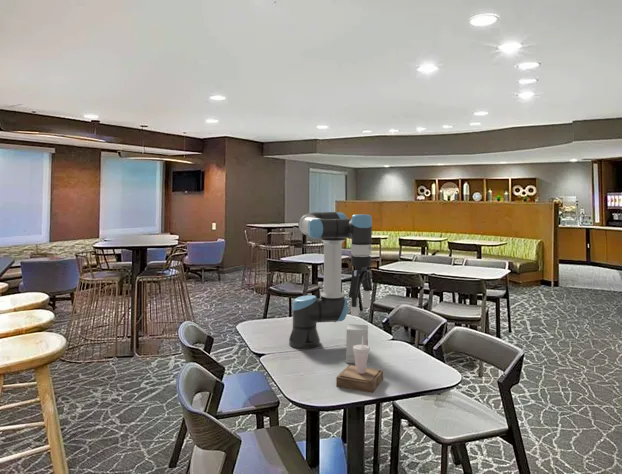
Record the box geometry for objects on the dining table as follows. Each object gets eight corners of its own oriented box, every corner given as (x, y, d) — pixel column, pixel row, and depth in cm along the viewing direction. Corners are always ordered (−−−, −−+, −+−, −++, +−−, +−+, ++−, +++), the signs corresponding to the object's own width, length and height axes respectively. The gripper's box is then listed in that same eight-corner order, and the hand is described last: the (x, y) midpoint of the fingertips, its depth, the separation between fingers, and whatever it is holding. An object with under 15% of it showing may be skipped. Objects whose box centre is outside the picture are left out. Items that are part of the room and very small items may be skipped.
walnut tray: (349, 373, 176) (349, 363, 176) (382, 379, 170) (383, 369, 170) (336, 386, 163) (336, 376, 163) (372, 393, 157) (372, 382, 157)
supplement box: (366, 364, 186) (367, 330, 185) (345, 363, 188) (346, 329, 187) (368, 357, 195) (368, 324, 194) (348, 356, 197) (348, 323, 196)
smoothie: (365, 376, 163) (365, 339, 162) (349, 372, 166) (350, 336, 165) (372, 370, 168) (372, 335, 167) (357, 367, 172) (357, 332, 171)
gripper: (360, 259, 151) (359, 320, 152) (380, 252, 173) (379, 305, 175) (339, 258, 154) (339, 317, 155) (362, 251, 176) (361, 303, 178)
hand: (360, 311), depth 165 cm, fingers open, 13 cm apart
